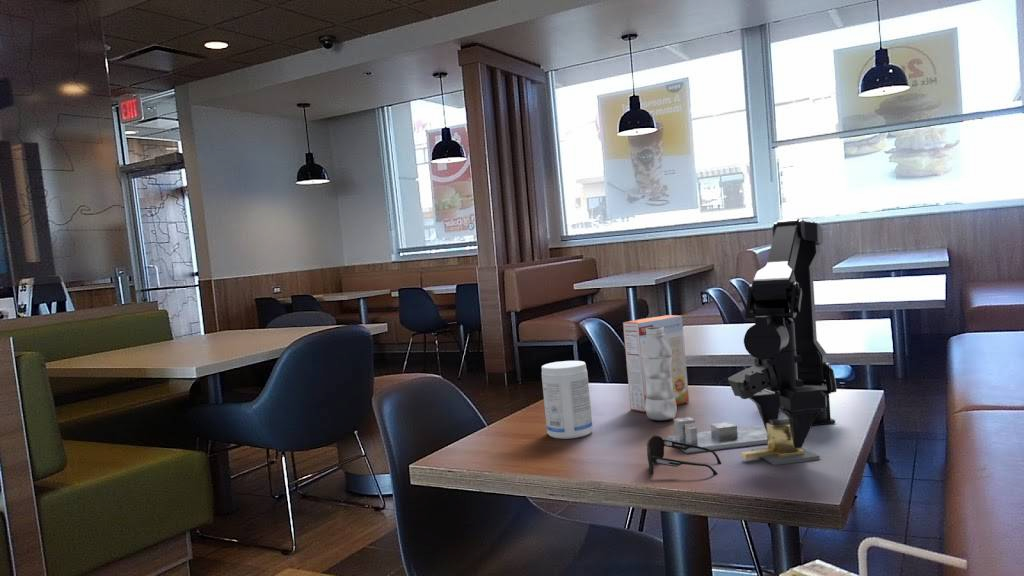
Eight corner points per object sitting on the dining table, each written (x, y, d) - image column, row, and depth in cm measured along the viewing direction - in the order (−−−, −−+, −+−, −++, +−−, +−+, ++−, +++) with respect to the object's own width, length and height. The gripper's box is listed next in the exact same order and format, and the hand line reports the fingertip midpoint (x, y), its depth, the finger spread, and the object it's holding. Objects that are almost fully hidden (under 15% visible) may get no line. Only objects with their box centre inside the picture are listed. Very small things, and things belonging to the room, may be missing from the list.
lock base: (760, 429, 139) (758, 404, 139) (785, 441, 129) (784, 415, 129) (667, 439, 137) (665, 414, 137) (686, 453, 127) (684, 426, 127)
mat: (794, 447, 125) (794, 444, 125) (819, 459, 118) (819, 455, 117) (751, 452, 124) (751, 449, 124) (774, 465, 117) (774, 461, 116)
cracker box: (671, 399, 173) (665, 314, 172) (690, 402, 168) (683, 315, 167) (628, 409, 166) (621, 321, 165) (646, 413, 161) (639, 321, 160)
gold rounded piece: (789, 446, 124) (787, 414, 124) (807, 454, 119) (804, 420, 119) (736, 454, 122) (733, 420, 122) (751, 462, 117) (749, 427, 117)
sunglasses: (652, 458, 127) (654, 430, 126) (722, 469, 122) (724, 440, 122) (640, 476, 117) (641, 447, 116) (714, 489, 112) (716, 458, 112)
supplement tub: (589, 426, 153) (584, 358, 152) (596, 437, 143) (590, 365, 143) (544, 430, 152) (539, 362, 152) (548, 441, 143) (542, 369, 142)
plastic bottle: (678, 422, 150) (671, 328, 149) (645, 423, 151) (638, 330, 150) (677, 415, 156) (670, 325, 155) (646, 416, 157) (639, 327, 157)
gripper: (710, 348, 129) (716, 433, 129) (758, 362, 110) (765, 461, 111) (768, 342, 130) (774, 426, 131) (825, 355, 111) (832, 453, 112)
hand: (783, 440), depth 121 cm, fingers open, 9 cm apart
